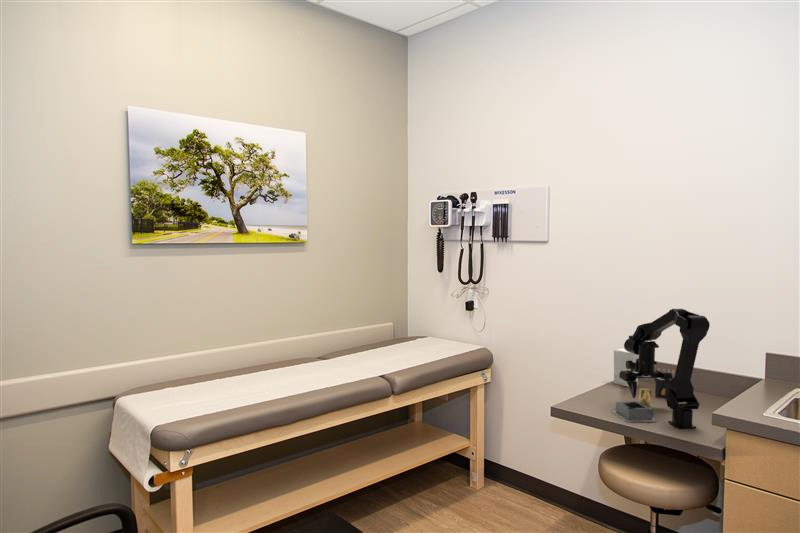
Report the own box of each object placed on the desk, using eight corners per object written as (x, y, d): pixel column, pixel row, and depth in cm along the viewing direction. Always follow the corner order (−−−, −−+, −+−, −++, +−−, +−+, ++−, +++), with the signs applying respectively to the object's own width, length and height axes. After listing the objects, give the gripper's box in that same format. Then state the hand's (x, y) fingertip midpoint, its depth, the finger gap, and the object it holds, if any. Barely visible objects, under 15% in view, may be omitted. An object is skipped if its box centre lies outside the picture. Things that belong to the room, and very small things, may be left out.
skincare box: (638, 385, 235) (639, 351, 235) (628, 387, 232) (629, 352, 231) (621, 381, 243) (622, 347, 242) (612, 383, 239) (613, 349, 239)
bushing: (652, 409, 202) (653, 391, 201) (642, 409, 201) (643, 391, 201) (646, 406, 206) (647, 388, 205) (636, 406, 205) (637, 388, 205)
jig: (656, 421, 188) (657, 409, 188) (627, 422, 187) (627, 410, 186) (639, 411, 199) (640, 400, 198) (611, 412, 198) (612, 401, 197)
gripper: (657, 352, 211) (656, 391, 212) (612, 353, 210) (611, 392, 210) (674, 359, 200) (673, 399, 201) (627, 359, 199) (626, 400, 199)
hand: (645, 397), depth 203 cm, fingers open, 9 cm apart
